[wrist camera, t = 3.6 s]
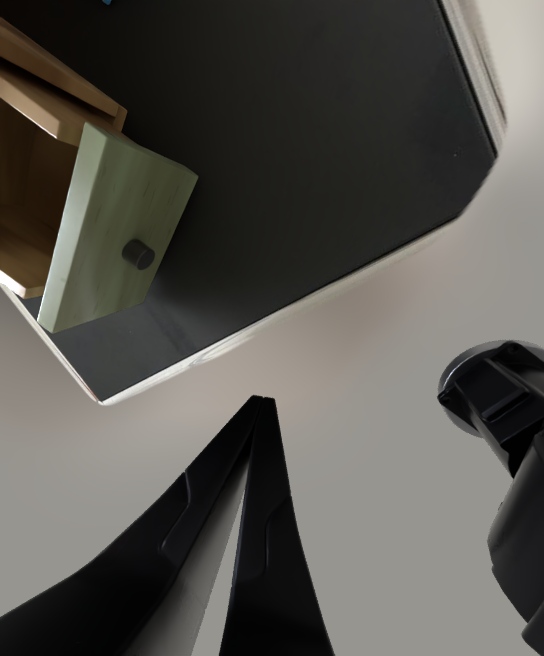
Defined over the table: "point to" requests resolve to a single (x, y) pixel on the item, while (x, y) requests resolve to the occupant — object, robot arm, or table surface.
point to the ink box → (106, 1)
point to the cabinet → (57, 74)
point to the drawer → (79, 204)
